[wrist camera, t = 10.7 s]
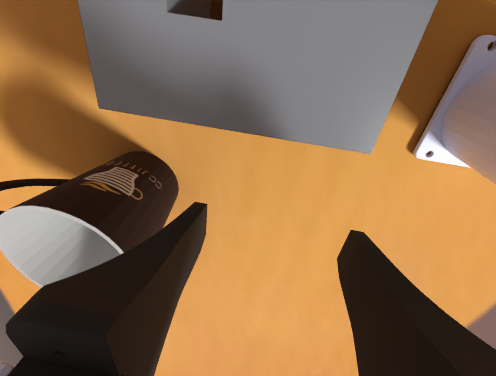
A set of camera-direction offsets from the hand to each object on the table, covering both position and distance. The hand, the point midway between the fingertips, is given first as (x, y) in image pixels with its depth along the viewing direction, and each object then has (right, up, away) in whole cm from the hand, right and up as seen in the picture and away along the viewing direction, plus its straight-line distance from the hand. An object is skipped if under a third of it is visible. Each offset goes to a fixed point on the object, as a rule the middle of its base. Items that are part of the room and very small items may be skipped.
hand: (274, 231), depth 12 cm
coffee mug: (-12, +4, +11) cm, 17 cm away
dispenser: (-1, +12, +4) cm, 13 cm away
